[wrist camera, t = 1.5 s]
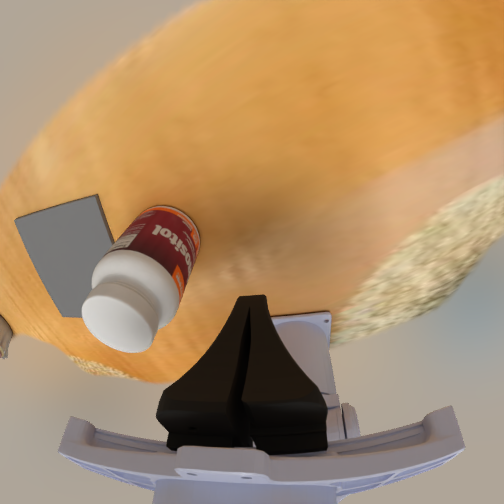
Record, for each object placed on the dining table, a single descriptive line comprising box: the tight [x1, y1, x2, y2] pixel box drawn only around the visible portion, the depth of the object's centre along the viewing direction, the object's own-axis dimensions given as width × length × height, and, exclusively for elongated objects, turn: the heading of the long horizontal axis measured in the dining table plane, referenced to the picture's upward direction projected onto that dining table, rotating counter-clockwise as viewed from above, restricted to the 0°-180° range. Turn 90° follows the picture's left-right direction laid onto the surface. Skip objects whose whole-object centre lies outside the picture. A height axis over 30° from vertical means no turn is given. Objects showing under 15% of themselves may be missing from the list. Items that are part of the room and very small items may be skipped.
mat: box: [14, 194, 115, 318], centre depth 26 cm, size 14×13×1 cm
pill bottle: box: [82, 206, 200, 353], centre depth 19 cm, size 6×6×11 cm
